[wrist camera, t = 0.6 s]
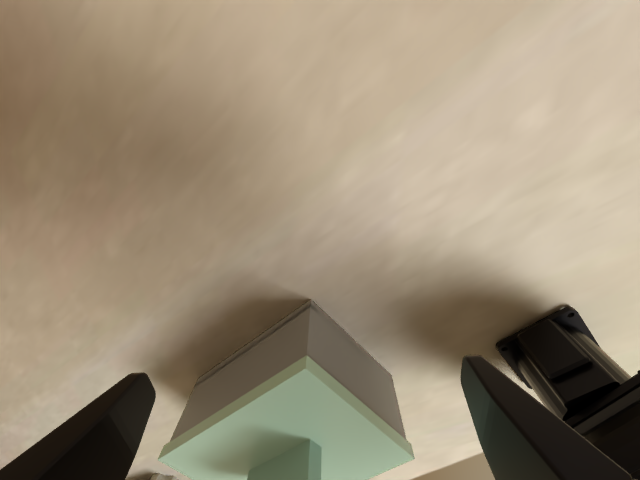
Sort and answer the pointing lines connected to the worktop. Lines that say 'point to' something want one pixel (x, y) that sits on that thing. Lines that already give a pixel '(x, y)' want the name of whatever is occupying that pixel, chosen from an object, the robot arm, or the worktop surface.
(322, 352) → the tub
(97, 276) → the worktop surface
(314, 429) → the lid
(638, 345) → the worktop surface
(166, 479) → the egg carton
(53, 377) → the worktop surface
